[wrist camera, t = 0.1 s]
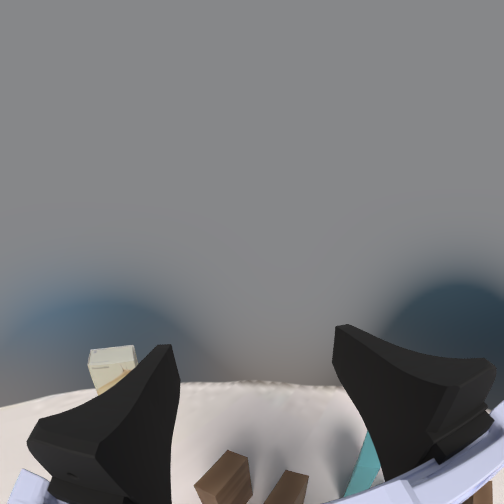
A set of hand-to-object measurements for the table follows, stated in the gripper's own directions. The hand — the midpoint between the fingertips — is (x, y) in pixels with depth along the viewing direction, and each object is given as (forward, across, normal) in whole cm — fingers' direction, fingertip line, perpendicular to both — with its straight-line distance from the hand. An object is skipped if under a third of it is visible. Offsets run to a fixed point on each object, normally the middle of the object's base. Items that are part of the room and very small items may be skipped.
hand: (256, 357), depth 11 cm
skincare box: (+15, +16, +23) cm, 32 cm away
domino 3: (+1, -10, +22) cm, 24 cm away
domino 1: (+2, +3, +22) cm, 22 cm away
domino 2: (-2, -1, +22) cm, 22 cm away
